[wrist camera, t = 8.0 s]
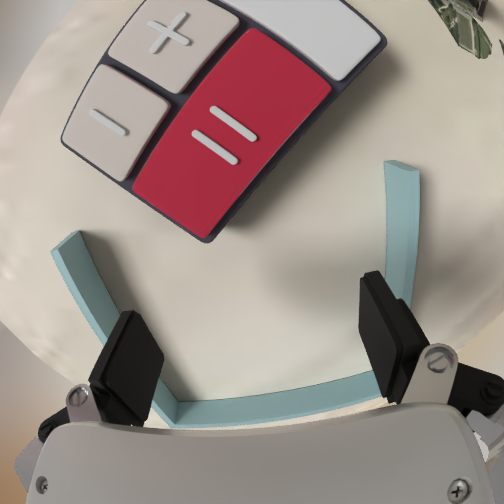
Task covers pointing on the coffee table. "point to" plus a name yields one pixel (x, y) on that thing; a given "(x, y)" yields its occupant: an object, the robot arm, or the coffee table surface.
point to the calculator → (213, 98)
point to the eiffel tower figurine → (466, 24)
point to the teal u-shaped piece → (274, 404)
